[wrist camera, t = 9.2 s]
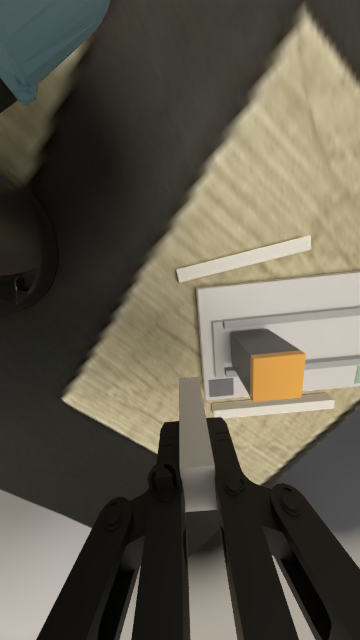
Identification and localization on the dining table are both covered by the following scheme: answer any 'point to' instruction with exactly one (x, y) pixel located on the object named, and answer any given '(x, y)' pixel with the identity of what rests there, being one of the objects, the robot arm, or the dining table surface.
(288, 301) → the panel
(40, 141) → the dining table surface
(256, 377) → the knob
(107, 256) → the dining table surface
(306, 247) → the light grey thin bar
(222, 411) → the light grey long bar
